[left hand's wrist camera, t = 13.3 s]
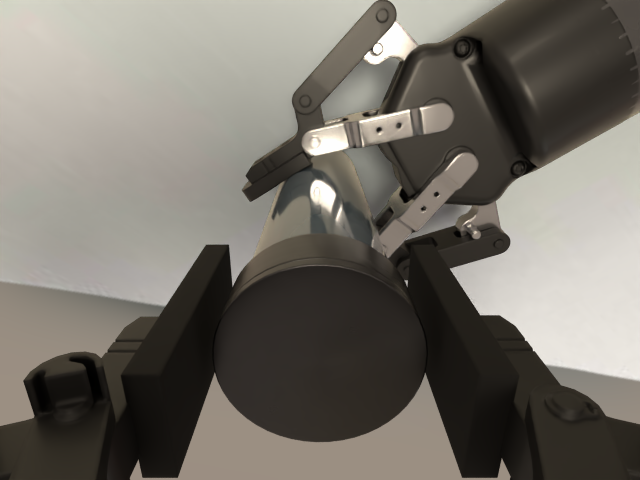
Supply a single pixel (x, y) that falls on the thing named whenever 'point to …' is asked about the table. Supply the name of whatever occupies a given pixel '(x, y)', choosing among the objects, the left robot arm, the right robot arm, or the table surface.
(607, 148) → the table surface
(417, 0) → the table surface
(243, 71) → the table surface
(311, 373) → the lid
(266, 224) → the grey cylinder
